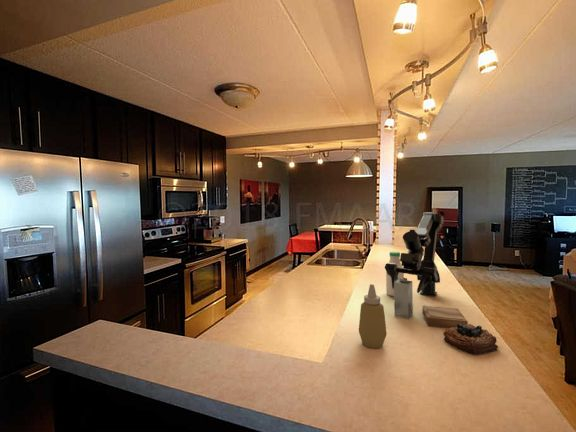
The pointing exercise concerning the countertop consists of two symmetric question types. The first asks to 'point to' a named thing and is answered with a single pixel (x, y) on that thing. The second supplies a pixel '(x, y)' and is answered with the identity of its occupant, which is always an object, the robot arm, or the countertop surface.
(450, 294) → the countertop surface
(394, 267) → the robot arm
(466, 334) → the pastry
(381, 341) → the squeeze bottle
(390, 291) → the milk bottle
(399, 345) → the countertop surface
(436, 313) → the stand
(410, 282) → the housing
